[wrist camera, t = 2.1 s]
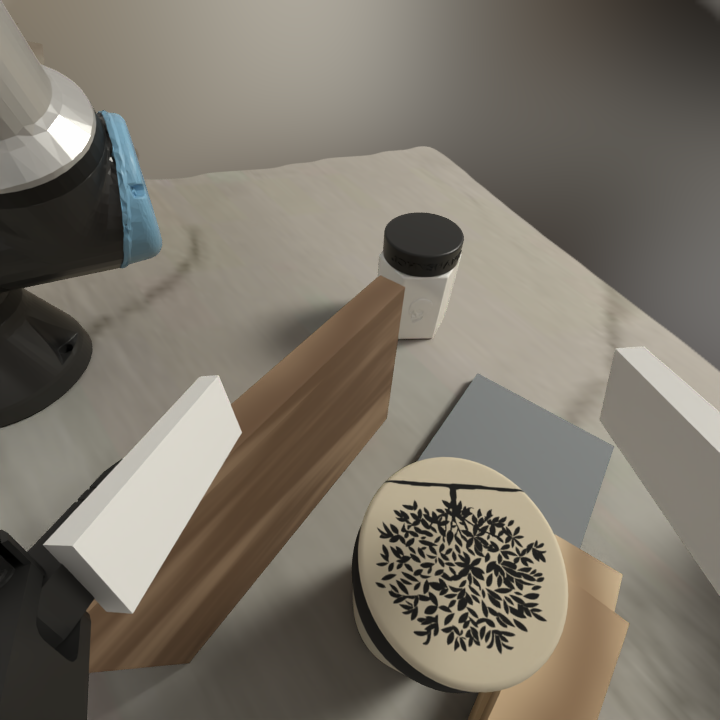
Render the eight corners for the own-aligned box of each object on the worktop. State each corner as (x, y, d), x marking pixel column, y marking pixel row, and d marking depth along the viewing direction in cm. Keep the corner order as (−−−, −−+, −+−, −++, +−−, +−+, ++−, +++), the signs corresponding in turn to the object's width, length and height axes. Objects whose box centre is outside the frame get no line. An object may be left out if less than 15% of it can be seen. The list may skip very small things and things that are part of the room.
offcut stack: (402, 851, 20) (408, 895, 17) (539, 533, 29) (559, 523, 26) (503, 967, 18) (531, 1044, 15) (616, 585, 27) (649, 581, 24)
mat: (407, 478, 33) (408, 473, 32) (474, 379, 40) (477, 373, 39) (560, 587, 28) (567, 585, 27) (607, 451, 35) (614, 446, 34)
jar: (377, 341, 43) (383, 257, 34) (373, 296, 48) (377, 212, 39) (451, 340, 44) (477, 256, 34) (438, 295, 49) (459, 211, 39)
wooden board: (158, 624, 26) (-51, 601, 13) (359, 400, 38) (362, 266, 25) (189, 663, 25) (-9, 682, 11) (386, 418, 37) (405, 287, 23)
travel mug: (457, 686, 24) (600, 740, 10) (341, 654, 25) (325, 663, 11) (461, 556, 29) (561, 470, 15) (364, 533, 30) (373, 433, 16)
